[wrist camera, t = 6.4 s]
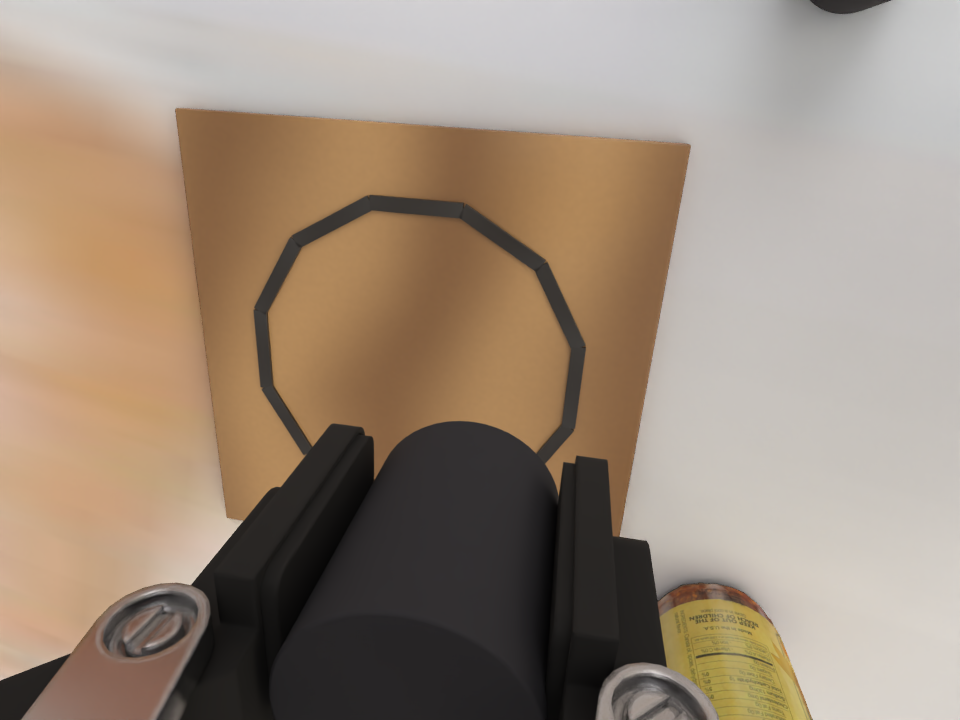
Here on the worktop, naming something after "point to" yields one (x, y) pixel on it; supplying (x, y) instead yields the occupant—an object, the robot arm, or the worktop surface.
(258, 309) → the board
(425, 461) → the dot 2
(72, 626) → the worktop surface
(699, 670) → the sauce bottle
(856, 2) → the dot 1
